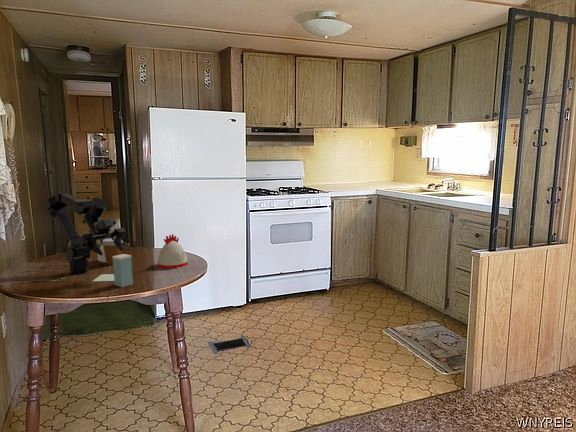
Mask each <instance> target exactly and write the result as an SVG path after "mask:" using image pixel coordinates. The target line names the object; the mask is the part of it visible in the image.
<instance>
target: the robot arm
mask: <svg viewBox="0 0 576 432" xmlns="http://www.w3.org/2000/svg"><path fill="white" fill-rule="evenodd" d="M43 205H44V206H43V207H44V209H45V211H46V212H47V214H48V215H49V216H51V217H52V218H54V219H55V220H56V222H57V223H58V225H59V227H60V229H61V231H62V233H63V234H64V236H65V238H66V241H67V242H68V246H67V252H66V255H65V259H66V261H68V262H69V265H70V267H69V268H70V272H68V274H69V275H83V274H85V273H87V272H89V271H90V268H89V261H88V259H89V258H91V251H92V252H93V253H96V254H97V255H98V254H99V255H101V256H102V255H103V253H102V251H101V249H100V248H99V247H100V246H99V244H98V243H97V242H98V241H100V240H102V239H108V238H111V239H112V240H113V241H114V242H113V243H114V244H115V245H116V246H117V247H118V249H119V250H120V251H121V252H123V250H124V247H123V242H122V241H123V239H124V238H123V237H124V236H125V235H126V232H127V231H126V230H125V228H124V227H118V228H114V230H113V232H111V228H112V227H114V226H115V225H116V224H117V220H116V218H115V217H109V218H106V219H105V218H104V219H102V220H101V217H102V216H103V215H104V213H105V211H106V210H107V207H108V203H107V201H105V200H104V199H102V198H99V197H98V196H95V197H93V198H92V200H90V199H80V198H79V197H77V196H74V195H73V194H70V193H69V192H67V191H60V192H56V193H55V194H54V195H52V196H51V197H49V198H48V199H46V201H45V202H44V204H43ZM67 206H68V207H70V208H72V209H73V212H74V213H76V214H77V215H78V216H83V215H84V216H83V218H82V224H86V226H87V227H88V228H89V230H88V233H83V234H82V235H81V236H80V235H79V233H78V232H77V230H76V228H75V226H74V224H73V223H72V221H71V219H70V218H69V215H68V213H67V211H68V210H67V209H68V207H67Z"/></svg>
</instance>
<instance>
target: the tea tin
mask: <svg viewBox="0 0 576 432" xmlns="http://www.w3.org/2000/svg"><path fill="white" fill-rule="evenodd" d="M112 258H113V265H112V268H113V274H114V281H113V282H114V286H116V287H120V288H123V287H124V288H125V287H127V286H131V285H133V284H134V283H133V282H134V281H133V279H134V278H133V266H132V255H131V254H125V253H121V255H116V256H112Z"/></svg>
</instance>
